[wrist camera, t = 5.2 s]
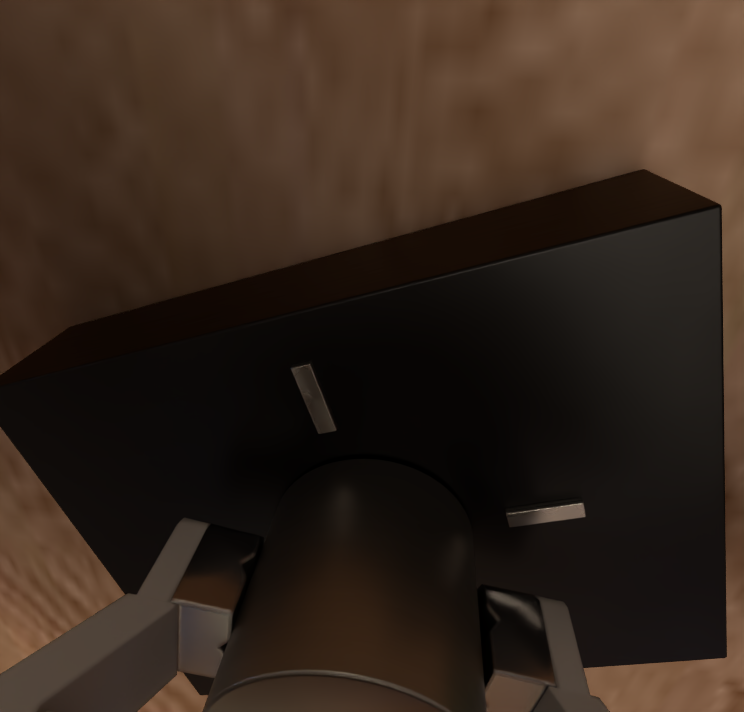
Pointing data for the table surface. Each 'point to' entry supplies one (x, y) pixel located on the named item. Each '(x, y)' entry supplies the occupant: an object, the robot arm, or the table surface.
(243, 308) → the panel
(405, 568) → the hob knob
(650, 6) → the table surface
